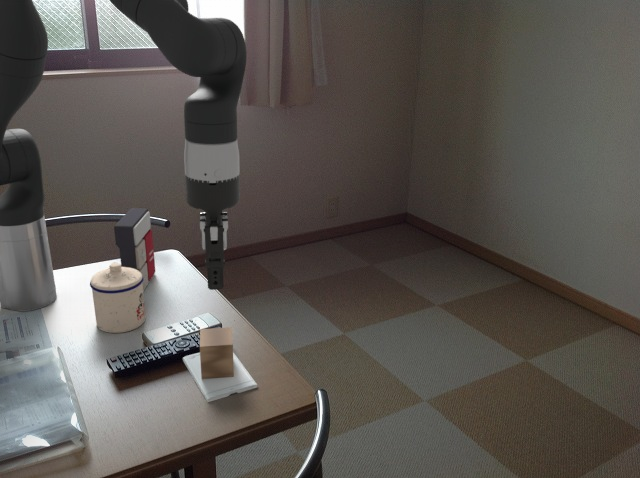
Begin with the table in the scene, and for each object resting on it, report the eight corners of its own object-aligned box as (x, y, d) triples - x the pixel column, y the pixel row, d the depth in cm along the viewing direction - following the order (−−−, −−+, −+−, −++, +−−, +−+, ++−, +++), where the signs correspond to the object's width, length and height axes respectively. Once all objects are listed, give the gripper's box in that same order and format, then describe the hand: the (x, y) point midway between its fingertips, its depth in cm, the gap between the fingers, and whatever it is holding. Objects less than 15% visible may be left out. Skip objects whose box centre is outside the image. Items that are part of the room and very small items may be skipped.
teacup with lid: (150, 329, 106) (145, 271, 102) (97, 338, 103) (89, 279, 99) (141, 299, 117) (135, 245, 112) (92, 307, 113) (85, 252, 109)
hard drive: (182, 356, 98) (207, 398, 88) (228, 344, 101) (257, 382, 91) (182, 364, 98) (207, 407, 88) (229, 352, 102) (258, 391, 92)
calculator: (142, 296, 118) (136, 227, 112) (121, 296, 118) (113, 226, 112) (157, 273, 128) (152, 208, 122) (137, 272, 128) (131, 207, 122)
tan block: (201, 379, 92) (199, 346, 90) (201, 360, 96) (200, 329, 94) (233, 376, 93) (232, 344, 90) (232, 358, 97) (231, 327, 95)
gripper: (186, 157, 88) (191, 256, 94) (182, 186, 75) (188, 299, 81) (237, 157, 89) (238, 255, 95) (242, 185, 76) (243, 296, 82)
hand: (215, 275), depth 88 cm, fingers open, 8 cm apart
